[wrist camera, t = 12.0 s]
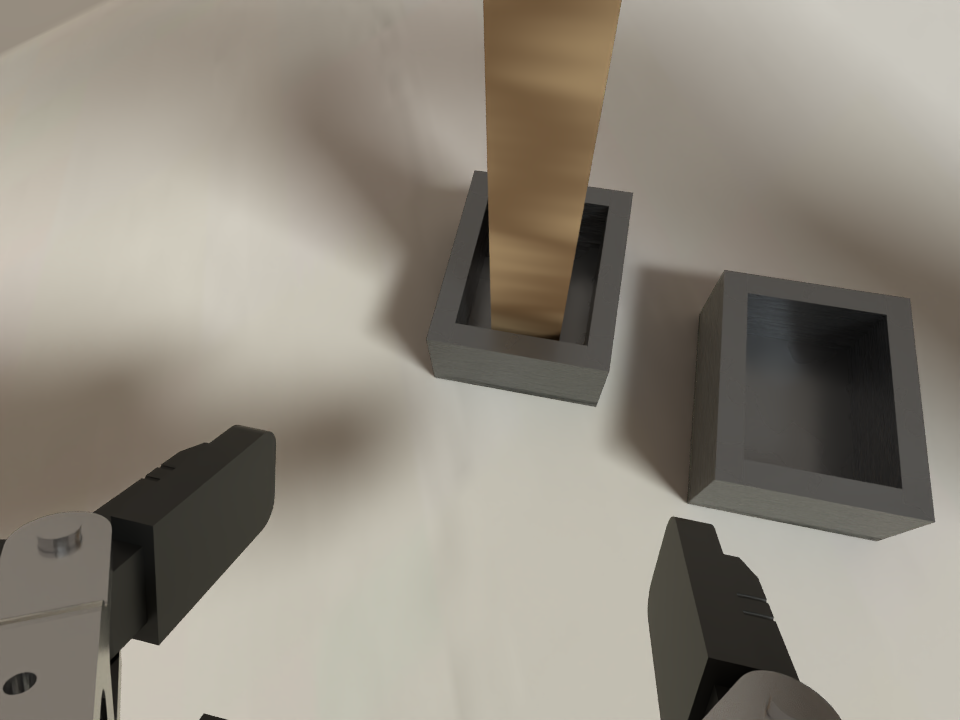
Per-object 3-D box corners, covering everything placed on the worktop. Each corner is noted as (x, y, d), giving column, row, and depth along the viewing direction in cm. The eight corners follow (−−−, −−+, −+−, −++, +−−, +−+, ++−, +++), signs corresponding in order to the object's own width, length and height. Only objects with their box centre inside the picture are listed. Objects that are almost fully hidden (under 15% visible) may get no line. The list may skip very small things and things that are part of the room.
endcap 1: (618, 242, 26) (633, 192, 23) (595, 406, 22) (608, 371, 20) (477, 220, 26) (474, 170, 24) (434, 377, 23) (426, 339, 20)
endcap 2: (862, 340, 23) (909, 298, 21) (876, 541, 20) (934, 522, 17) (699, 314, 24) (724, 270, 21) (687, 503, 21) (715, 479, 18)
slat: (569, 265, 25) (641, -143, 12) (557, 352, 23) (625, -21, 11) (509, 257, 25) (518, -151, 13) (491, 342, 23) (482, -33, 11)
